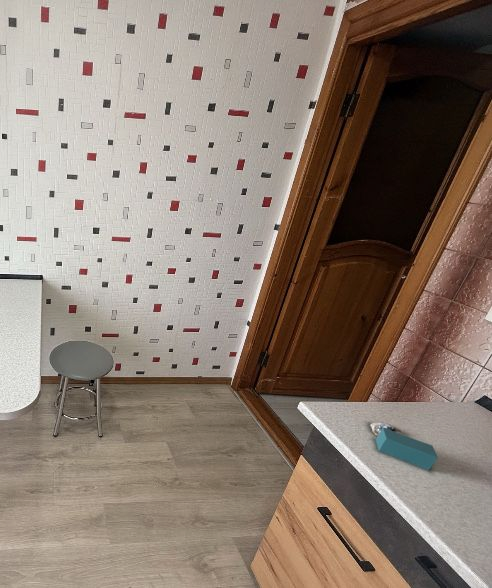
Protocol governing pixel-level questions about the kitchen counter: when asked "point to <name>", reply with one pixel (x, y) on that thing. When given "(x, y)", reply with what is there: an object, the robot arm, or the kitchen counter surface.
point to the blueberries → (378, 427)
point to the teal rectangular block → (406, 448)
